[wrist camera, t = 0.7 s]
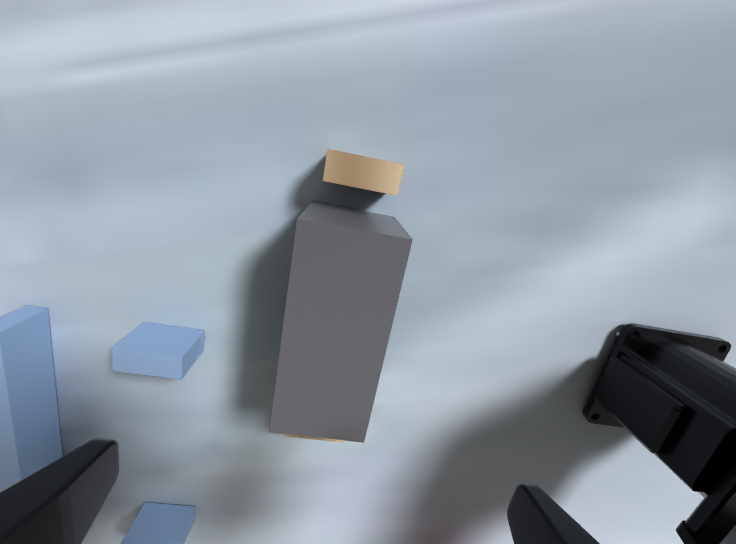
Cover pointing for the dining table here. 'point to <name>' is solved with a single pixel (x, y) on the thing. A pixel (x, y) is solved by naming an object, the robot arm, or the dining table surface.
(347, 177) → the tan wooden block
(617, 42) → the dining table surface
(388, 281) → the tall grey block
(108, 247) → the dining table surface
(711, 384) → the robot arm
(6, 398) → the separate blue rectangular blocks
